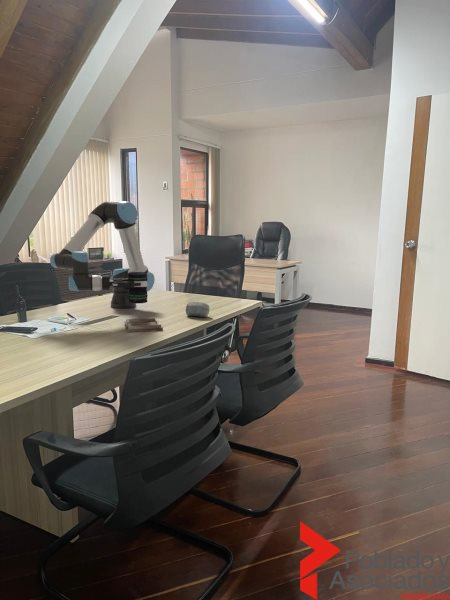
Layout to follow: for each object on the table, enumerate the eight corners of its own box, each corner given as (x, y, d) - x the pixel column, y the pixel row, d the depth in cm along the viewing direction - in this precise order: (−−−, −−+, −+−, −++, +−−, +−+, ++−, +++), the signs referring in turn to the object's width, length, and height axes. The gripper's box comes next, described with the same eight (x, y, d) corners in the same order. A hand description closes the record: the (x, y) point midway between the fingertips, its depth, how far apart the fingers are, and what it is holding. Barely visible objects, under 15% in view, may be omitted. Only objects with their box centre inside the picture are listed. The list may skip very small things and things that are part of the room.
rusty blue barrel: (149, 303, 219) (149, 274, 216) (129, 303, 215) (129, 274, 213) (145, 299, 228) (145, 271, 225) (126, 300, 225) (126, 272, 222)
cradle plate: (124, 323, 218) (124, 318, 218) (157, 322, 223) (157, 317, 223) (127, 332, 202) (126, 326, 202) (162, 330, 207) (162, 325, 207)
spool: (180, 311, 236) (188, 295, 237) (186, 315, 244) (194, 300, 246) (201, 320, 230) (208, 303, 232) (206, 324, 239) (214, 308, 241)
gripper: (101, 286, 226) (144, 286, 232) (101, 294, 205) (148, 293, 211) (101, 272, 225) (144, 272, 231) (101, 278, 204) (148, 278, 210)
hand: (146, 282), depth 221 cm, fingers closed on rusty blue barrel, 10 cm apart
